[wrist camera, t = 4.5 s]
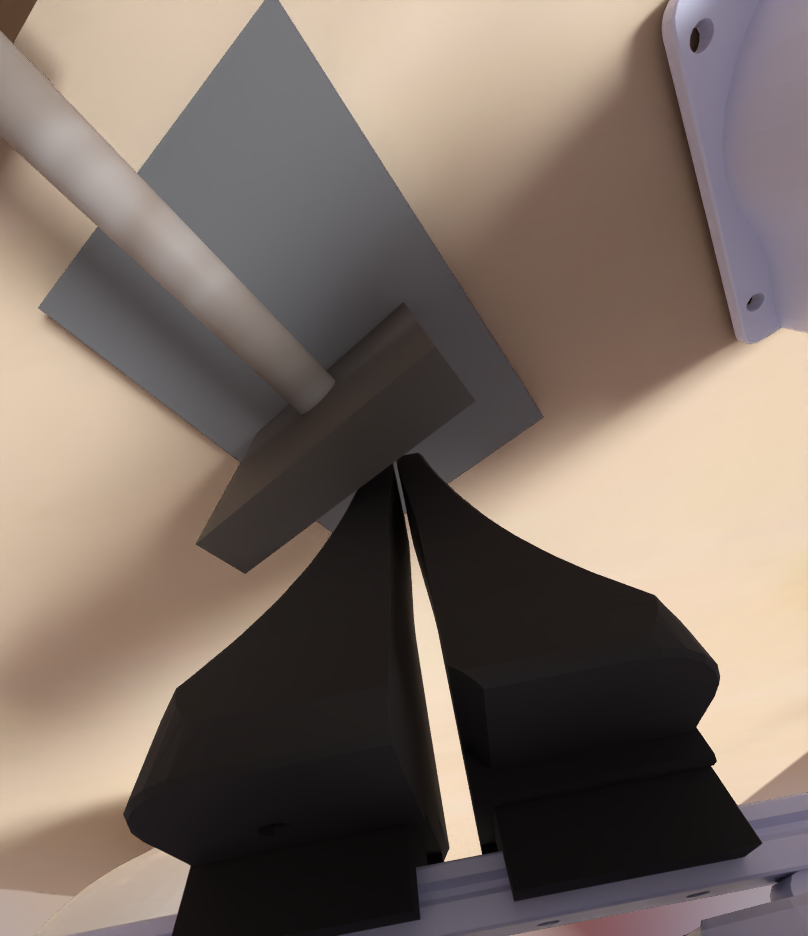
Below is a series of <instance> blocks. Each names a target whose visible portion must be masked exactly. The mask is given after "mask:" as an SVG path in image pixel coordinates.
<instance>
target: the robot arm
mask: <svg viewBox="0 0 808 936" xmlns="http://www.w3.org/2000/svg"><path fill="white" fill-rule="evenodd" d="M693 28H697V30H698V32H699V34H700V42H699V45H698V48H697V51H696V52H695V53H694V52H692V50H691V48H690V36H691V34H692V31H693ZM662 37H663V41H664V46H665V50H666V54H667V58H668V62H669V66H670V70H671V74H672V78H673V82H674V86H675V91H676V95H677V99H678V103H679V107H680V111H681V115H682V119H683V123H684V127H685V131H686V136H687V140H688V144H689V148H690V152H691V156H692V160H693V164H694V168H695V172H696V176H697V181H698V185H699V189H700V193H701V197H702V201H703V205H704V209H705V213H706V217H707V221H708V226H709V230H710V234H711V238H712V242H713V246H714V250H715V254H716V258H717V262H718V266H719V270H720V275H721V279H722V283H723V287H724V291H725V295H726V299H727V303H728V307H729V311H730V315H731V320H732V324H733V328H734V332H735V336H736V338H737V340H739V341H741V342H745V343H749V344H753V343H757V342H759V341H761V340H763V339H765V338H766V337H768V336H769V335H771V334H772V333H774V332H775V331H777V330H779V329H780V328H785V329H790V330H795V331H800V332H805V333H808V0H669V2H668V5H667V7H666V9H665V11H664V15H663V20H662ZM752 296H753V297H752ZM751 297H752V301H751V302H750V304H749V305H748V306H747V303H748V301H749V300H750V298H751ZM397 468H398V473H399V477H400V482H401V487H402V492H403V497H404V501H405V506H406V511H407V516H408V521H409V526H410V530H411V535H412V540H413V545H414V548H415V552H416V555H417V558H418V562H419V565H420V569H421V572H422V576H423V579H424V582H425V586H426V589H427V593H428V596H429V599H430V603H431V606H432V610H433V613H434V617H435V621H436V625H437V629H438V634H439V639H440V644H441V649H442V654H443V659H444V664H445V669H446V674H447V679H448V684H449V689H450V694H451V699H452V704H453V709H454V714H455V719H456V725H457V730H458V735H459V740H460V745H461V750H462V755H463V760H464V765H465V770H466V775H467V780H468V785H469V790H470V795H471V800H472V806H473V811H474V816H475V821H476V826H477V831H478V836H479V841H480V846H481V851H482V855H478V856H473V857H468V858H463V859H458V860H452V861H447V862H444V860H445V857H446V855H447V852H448V850H449V843H448V837H447V830H446V824H445V818H444V812H443V806H442V800H441V794H440V788H439V782H438V776H437V769H436V763H435V757H434V751H433V744H432V738H431V732H430V726H429V719H428V713H427V707H426V700H425V694H424V687H423V681H422V675H421V668H420V662H419V655H418V648H417V642H416V635H415V626H414V614H413V597H412V580H411V563H410V547H409V540H408V534H407V529H406V523H405V517H404V512H403V507H402V503H401V498H400V493H399V489H398V484H397V479H396V475H395V470H394V465H393V463H392V464H391V465H390V466H388V467H387V468H386V469H384V470H383V471H382V472H380V473H379V474H378V475H376V476H375V477H374V478H372V479H371V480H370V481H368V482H367V483H366V484H364V485H363V486H362V487H360V488H359V489H358V490H357V491H356V493H355V495H354V497H353V499H352V501H351V502H350V504H349V506H348V508H347V510H346V512H345V514H344V515H343V517H342V518H341V520H340V522H339V523H338V525H337V527H336V528H335V530H334V532H333V533H332V535H331V536H330V538H329V539H328V541H327V542H326V543H325V545H324V546H323V548H322V549H321V550H320V552H319V553H318V554H317V556H316V557H315V558H314V560H313V561H312V562H311V563H310V565H309V566H308V567H307V568H306V569H305V571H304V572H303V573H302V574H301V575H300V576H299V577H298V579H297V580H296V581H295V582H294V583H293V584H292V585H291V586H290V587H289V589H288V590H287V591H286V592H285V593H284V594H283V595H282V596H281V597H280V598H279V599H278V600H277V601H276V602H275V603H274V604H273V605H272V606H271V607H270V608H269V609H268V610H267V611H266V612H265V613H264V614H263V615H262V616H261V617H260V618H259V619H258V620H257V621H256V622H255V623H254V624H252V625H251V626H250V627H249V628H248V629H247V630H246V631H245V632H244V633H243V634H242V635H240V636H239V637H238V638H237V639H236V640H235V641H234V642H233V643H231V644H230V645H229V646H228V647H227V648H225V649H224V650H223V651H222V652H221V653H219V654H218V655H217V656H216V657H215V658H213V659H212V660H211V661H210V662H209V663H207V664H206V665H205V666H204V667H202V668H201V669H200V670H199V671H198V672H196V673H195V674H194V675H193V676H192V677H190V678H189V679H188V680H187V681H185V682H184V683H183V684H182V685H180V686H179V687H178V688H176V690H175V692H174V694H173V697H172V699H171V701H170V703H169V705H168V707H167V709H166V711H165V713H164V716H163V718H162V720H161V722H160V725H159V727H158V729H157V732H156V734H155V737H154V739H153V742H152V744H151V747H150V749H149V752H148V754H147V756H146V759H145V761H144V764H143V766H142V769H141V771H140V774H139V776H138V779H137V781H136V783H135V786H134V788H133V791H132V793H131V796H130V798H129V801H128V803H127V806H126V809H125V811H124V814H123V815H124V817H125V819H126V822H127V824H128V826H129V829H130V831H131V833H132V834H133V835H135V836H136V837H138V838H139V839H140V840H142V841H143V842H145V843H147V844H149V845H151V846H153V847H155V848H157V849H159V850H161V851H163V852H165V853H167V854H169V855H171V856H173V857H175V858H177V859H179V860H181V861H183V862H185V863H187V864H189V865H191V866H190V870H189V874H188V877H187V881H186V885H185V888H184V892H183V896H182V899H181V903H180V907H179V910H178V914H173V915H168V916H162V917H157V918H152V919H147V920H142V921H137V922H131V923H126V924H121V925H116V926H111V927H105V928H100V929H95V930H90V931H85V932H80V933H74V934H69V935H64V936H509V935H514V934H519V933H525V932H530V931H535V930H540V929H545V928H551V927H556V926H561V925H566V924H571V923H577V922H582V921H587V920H591V919H597V918H602V917H608V916H613V915H618V914H623V913H628V912H634V911H638V910H643V909H649V908H654V907H659V906H664V905H670V904H675V903H680V902H686V901H691V900H696V899H701V898H706V897H712V896H717V895H722V894H727V893H732V892H737V891H743V890H748V889H753V888H758V887H763V886H769V885H773V886H772V889H771V893H770V899H771V902H769V903H766V904H762V905H758V906H754V907H751V908H747V909H743V910H739V911H735V912H731V913H728V914H724V915H720V916H716V917H712V918H709V919H705V920H702V921H701V926H700V927H699V928H697V929H696V930H694V931H692V932H690V933H689V934H687V935H684V936H808V792H805V793H799V794H795V795H789V796H784V797H779V798H774V799H769V800H764V801H758V802H753V803H748V804H742V805H737V804H736V803H735V801H734V800H733V798H732V797H731V795H730V794H729V792H728V791H727V789H726V788H725V786H724V785H723V783H722V782H721V780H720V779H719V777H718V776H717V774H716V773H715V771H714V770H713V768H712V767H711V766H712V765H714V764H715V763H716V762H717V760H716V757H715V754H714V752H713V751H712V749H711V748H710V746H709V745H708V744H707V742H706V741H705V739H704V738H703V736H702V735H701V733H700V732H699V731H698V729H697V728H696V726H697V725H698V723H699V721H700V720H701V718H702V716H703V715H704V713H705V711H706V710H707V708H708V706H709V705H710V703H711V702H712V700H713V698H714V697H715V694H716V691H717V688H718V685H719V681H720V674H719V670H718V665H717V663H716V662H715V661H714V660H713V659H712V657H711V656H710V655H709V654H708V653H707V651H706V650H705V649H704V648H703V647H702V646H701V644H700V643H699V642H698V641H697V640H696V638H695V637H694V636H693V635H692V634H691V632H690V631H689V630H688V629H687V628H686V627H685V626H684V625H683V624H682V622H681V621H680V620H679V619H678V618H677V617H676V616H675V615H674V614H673V613H672V612H671V611H670V610H669V609H668V608H667V607H666V606H664V605H663V603H662V602H661V601H660V600H659V599H658V598H657V597H656V596H655V595H653V594H650V593H647V592H645V591H642V590H639V589H636V588H634V587H631V586H628V585H625V584H623V583H620V582H617V581H614V580H612V579H609V578H606V577H604V576H601V575H598V574H595V573H593V572H590V571H588V570H585V569H583V568H581V567H579V566H576V565H574V564H572V563H569V562H567V561H565V560H563V559H560V558H558V557H556V556H554V555H552V554H550V553H548V552H546V551H544V550H542V549H540V548H538V547H536V546H534V545H532V544H530V543H528V542H527V541H525V540H523V539H521V538H519V537H517V536H515V535H514V534H512V533H510V532H509V531H507V530H506V529H504V528H502V527H501V526H499V525H498V524H496V523H495V522H493V521H492V520H490V519H489V518H487V517H486V516H485V515H483V514H482V513H481V512H479V511H478V510H477V509H475V508H474V507H473V506H472V505H470V504H469V503H468V502H467V501H465V500H464V499H463V498H462V497H461V496H460V495H458V494H457V493H456V492H455V491H454V490H453V489H452V488H451V487H450V486H449V485H448V484H447V483H446V482H445V481H444V480H443V479H442V478H441V477H440V476H439V475H438V474H437V473H436V472H435V471H434V470H433V469H432V468H431V466H430V465H429V464H428V463H427V461H426V460H425V459H424V457H423V456H422V455H421V454H419V453H413V454H408V455H403V456H402V457H400V458H399V459H398V460H397ZM774 884H775V885H774Z"/></svg>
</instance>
